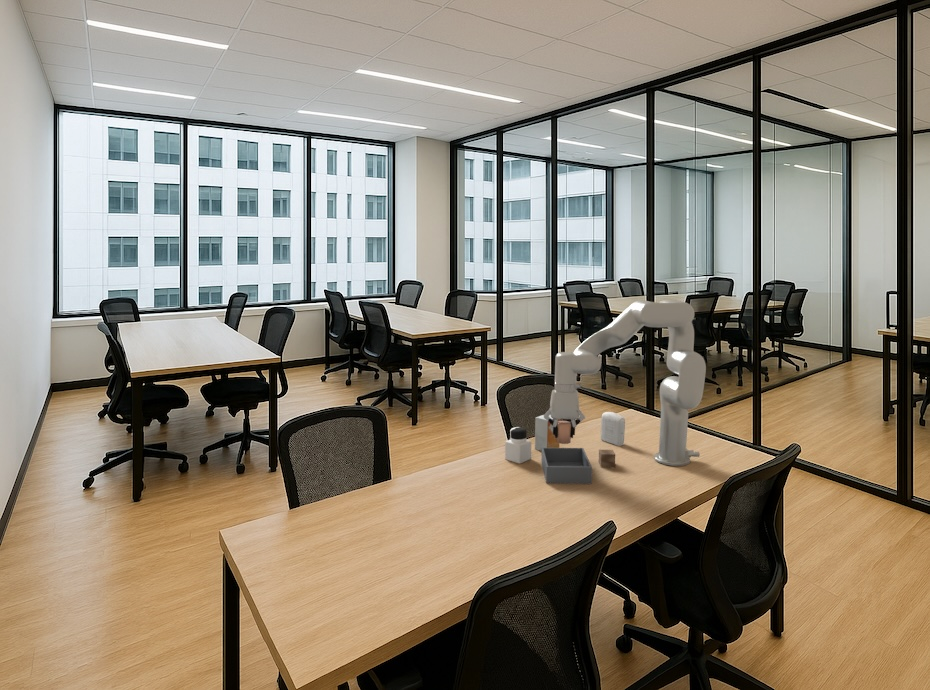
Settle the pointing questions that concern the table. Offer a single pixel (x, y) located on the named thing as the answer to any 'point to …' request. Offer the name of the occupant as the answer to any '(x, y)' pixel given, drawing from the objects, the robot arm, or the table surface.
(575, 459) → the tote
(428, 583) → the table surface
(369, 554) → the table surface
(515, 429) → the medicine bottle
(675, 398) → the robot arm
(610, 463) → the walnut cube
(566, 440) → the pink rounded block
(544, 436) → the small box
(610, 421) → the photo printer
